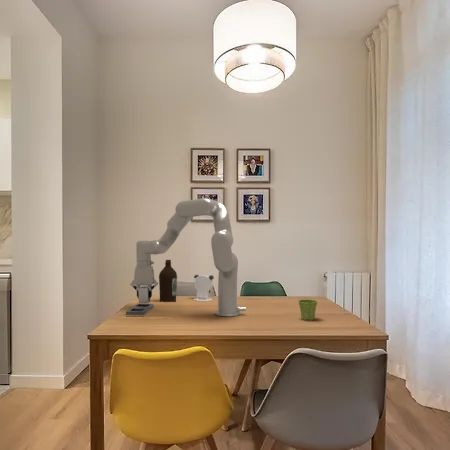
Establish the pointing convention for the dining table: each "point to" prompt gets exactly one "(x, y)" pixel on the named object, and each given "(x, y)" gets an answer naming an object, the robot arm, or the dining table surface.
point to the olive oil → (168, 283)
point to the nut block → (143, 294)
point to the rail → (139, 310)
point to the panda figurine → (203, 287)
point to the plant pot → (307, 309)
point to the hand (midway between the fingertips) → (144, 297)
